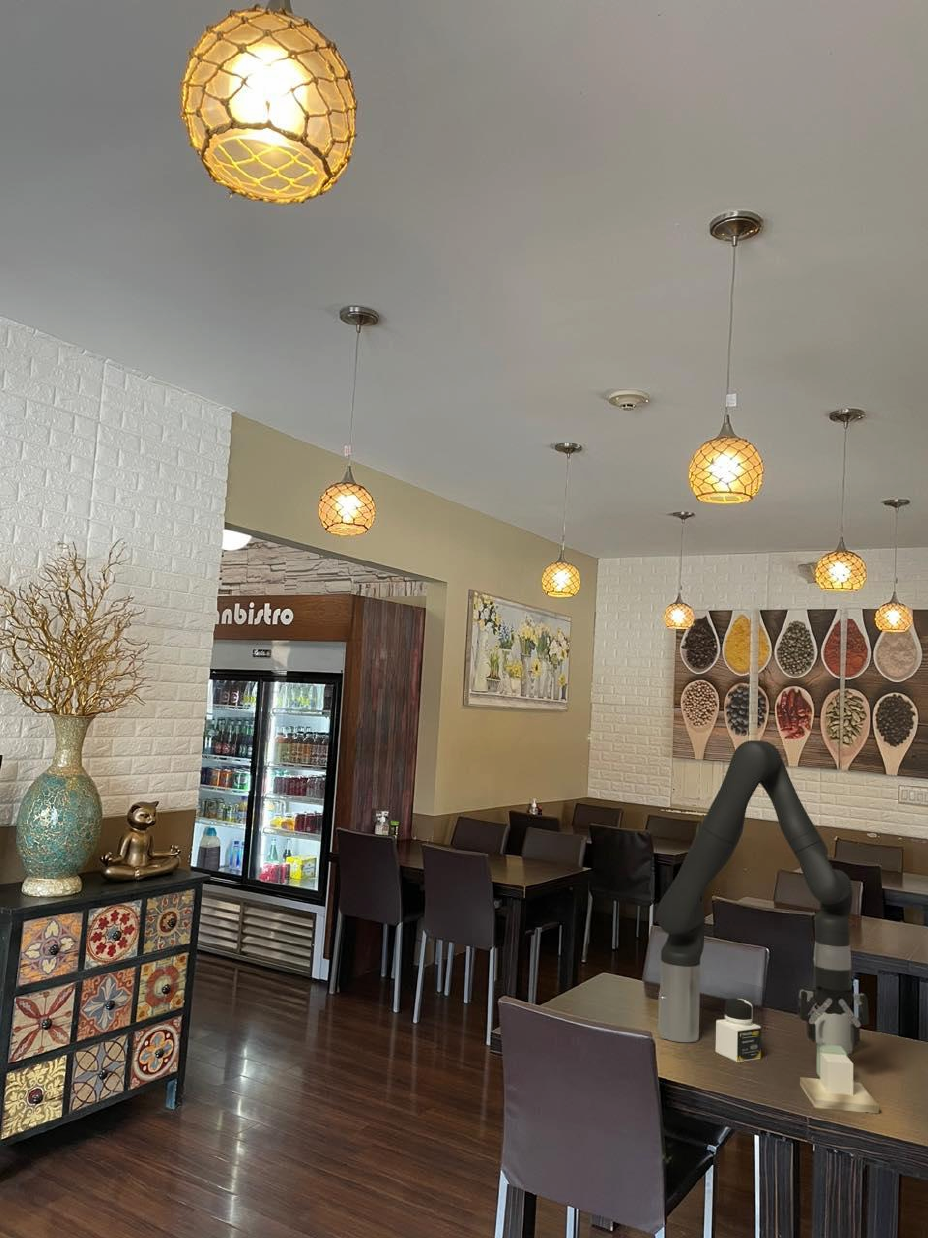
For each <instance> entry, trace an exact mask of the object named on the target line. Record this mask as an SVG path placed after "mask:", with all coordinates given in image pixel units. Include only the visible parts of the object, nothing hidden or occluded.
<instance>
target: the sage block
mask: <svg viewBox="0 0 928 1238" xmlns="http://www.w3.org/2000/svg"><path fill="white" fill-rule="evenodd" d="M821 1053H826V1054H838V1055H846V1056H847V1057H848V1055H847V1053H846V1052H845V1051H844V1050H843V1048H842V1047H841V1046H834V1045H823V1044H817V1043H816V1074H817V1075H818V1077H819V1078H820V1062H821Z"/></svg>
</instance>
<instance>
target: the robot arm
mask: <svg viewBox="0 0 928 1238" xmlns="http://www.w3.org/2000/svg"><path fill="white" fill-rule="evenodd" d="M759 785H760V786H761V787H762V788H763V789H764V791H765V792H766V794H767V795H768V797H769V799H770V801H771V803H772V805H773V808H774V811H775V814H776V817H777V820H778V824H779V827H780V829H781V832H782V835H783V837H784V838H785V840H786V843H787V844H788V846H789V848H790V849H791V851H792V853H793V855H794V856H795V858H796V859H797V861H798V863H799V866H800V869H801V872H802V875H803V878H804V881H805V882H806V885H807V887H808V889H809V891H810V893H811V894H812V896H813V898H815V899H816V901H817V902H819V913H818V914H817V916H816V917H815V922H814V949H813V976H814V977H813V984H814V988H813V990H812V991H809V990H805V989H803V988H800V989H799V990H798V1000H797V1002H798V1005H797V1016H798V1017H799V1019H800V1020H801V1021H804V1022H806V1036H807V1038H808V1039H809V1041H811V1043H816V1025H815V1022H816V1020H817V1019H818V1018H819V1017H820V1016H821V1015H822V1014H823V1013H824V1012H825V1013H827V1014H833V1013H835V1014H838V1015H842V1014H843V1013H845V1014H846V1015H847V1017H848V1018H849V1019H850V1021H851V1022H852V1025H851V1024H850V1031H851V1043H852V1046H858V1043H860V1041H861V1037H860V1036H861V1032H860V1031H861V1027H862V1026H868V1025H870V1016H869V1005H868V1004H869V1003H868V1002H869V1001H868V997H867V996H866V995H865V994H864V993H863V992H859V993H858V994H857V993H854V994H853V992H852V954H851V948H850V944H851V943H850V917H851V914H852V913H851V912H852V905H853V892H854V891H853V884H852V881H851V879H850V877H849V876H848V874H847V873H845V872H844V871H843V870H840V869H834V868H833V866H832V864H831V862H830V859H829V858H828V854H829V849H828V847H827V845H826V843H825V841H824V839H823V837H822V836H821V834H820V832H819V831H818V830H817V827H816V826H815V824H814V822H813V821H812V819H811V818H810V816H809V814H808V812H807V811H806V809H805V807H804V805H803V804H802V802H801V799H800V797H799V796H798V793H797V791H796V789H795V787H794V784H793V783H792V780H791V778H790V775H789V772H788V770H787V768H786V765H785V763H784V760H783V758H782V755H781V754H780V750H779V749H778V748H777V747H776V746H775V745H774V744H773V743H771V742H768V741H766V740H753V739H752V740H747V741H744V742H742V743H741V744H739V745H738V746H737V747H736V749H735V750H734V752H733V754H732V756H731V760H730V762H729V764H728V767H727V770H726V772H725V776H724V779H723V781H722V783H721V786H720V789H719V791H718V792H717V794H716V796H715V797H714V799H713V802H712V803H711V805H710V807H709V809H708V810H707V813H706V815H705V817H704V819H703V820H702V822H701V824H700V826H699V828H698V830H697V833H696V834H695V836H694V839H693V842H692V843H691V846H690V847H689V850H688V852H687V853H686V856H685V858H684V860H683V863H682V864H681V866H680V869H679V871H678V873H677V875H676V876H675V878H674V880H673V881H672V883H671V884H670V886H669V888H668V889H667V891H666V892H665V894H664V895H663V896H662V898H661V900H660V902H659V903H658V905H657V910H656V919H657V923H658V926H659V927H660V928H661V930H662V931H663V932H665V933H666V934H668V936H667V939H666V941H665V943H664V945H662V948H661V952H660V977H659V978H660V986H659V991H658V1014H657V1016H658V1018H657V1019H658V1021H657V1031H658V1035H659V1038H660V1039H662V1040H663V1039H664V1040H668V1041H672V1042H678V1043H694V1042H697V1041H698V1040H699V1036H700V1035H699V1033H700V1028H699V1027H700V1026H699V1025H700V987H701V985H700V984H701V983H700V981H701V957H702V954H703V951H704V946H705V929H706V928H705V927H706V912H705V908H704V905H703V902H702V901H701V897H702V896H703V894H704V892H705V890H706V888H707V887H709V885H710V883H711V882H712V881H713V880H714V879H715V878H716V877H717V876H718V874H719V873H720V872H721V871H722V870H723V868H724V867H725V866H726V865H727V863H728V862H729V860H730V859H731V858H732V856H733V853H734V851H735V850H736V848H737V846H738V843H739V841H740V839H741V836H742V834H743V830H744V826H745V825H744V824H745V821H746V820H745V819H746V813H747V809H748V805H749V803H750V800H751V798H752V797H753V794H754V793H755V791H756V789H758V786H759ZM811 998H813V1000H814V1001H815V1004H814V1005H813V1006H812V1007H811V1009H810V1011H809V1012H808V1014H807V1008H808V1002H810V1001H811ZM854 1001H855V1003H856V1004H857V1005H858V1011H859V1017H856V1014H854V1013H853V1011H852V1010H851V1008H850V1006H851V1005H852V1004H853V1002H854Z"/></svg>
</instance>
